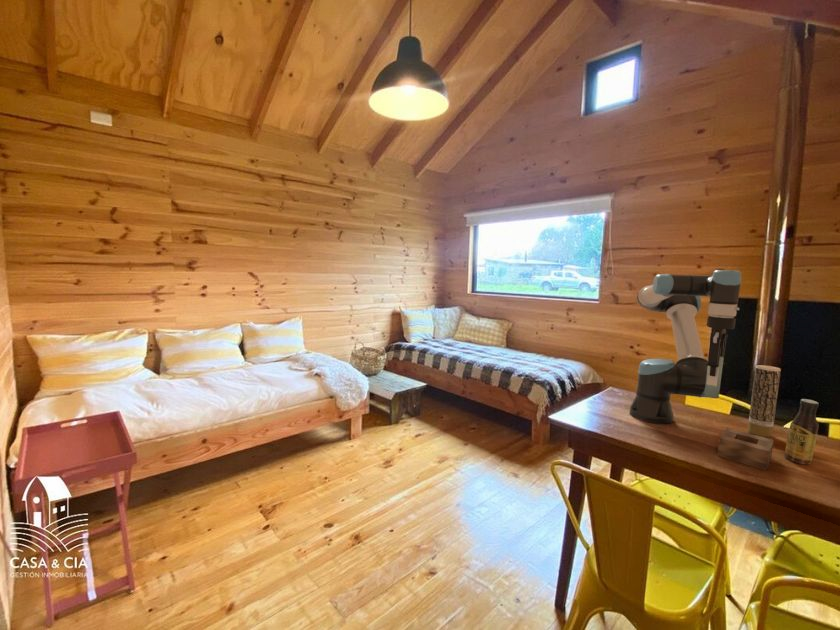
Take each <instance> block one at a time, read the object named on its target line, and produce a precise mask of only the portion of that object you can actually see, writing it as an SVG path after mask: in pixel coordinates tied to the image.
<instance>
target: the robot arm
mask: <svg viewBox="0 0 840 630" xmlns="http://www.w3.org/2000/svg"><path fill="white" fill-rule="evenodd" d="M741 284H742V272H741V271H740V270H737V269H736V270H733V269H732V270H730V269H729V270H726V269H725V270H722V269H716V270H714V271H713V272H712V274H708V275H707V274H704V275H702V274H670V273H663V274H662V273H661V274H656V275H655V276H654V278H653V282H652V284H651V285H646V286H643V287H642V288H641V289H639V290H638V292H637V294H636V300H637V303H638V304H639V305H640V306H641V307H642V308H643V309H645V310H647V311H650V312H656V313H665V316H666V318H667V319H669V320H670V322H671V327H672V333H673V338H674V344H675V349H676V355H677V360H676V361H675V362H674V361H673V360H671V359H664V358H647V359H644V360H641V362H640V363H639V366H638V371H637V375H638V376H637V383H636V395H635V396H634V399H633V401H632V403H631V404H630V407H629V414H630V415H631V416H632V417H633V418H635V419H637V420H641V421H642V422H643V421H644V422H648V423H652V424H660V425H669V424H672V423H673V421H674V417H675V416H674V412H673V409H672V404H671V395H678V396H689V397H696V398H699V399H700V398H709V397H706V396H704V393H705V385H706V376H707V368H708V366H709V369H708V377H707V384H708V385H713V386H717V381H718V373H719V367H718V366H719V359H720V357H723V358H725V354H726V353H725V352H726V345H727V339H728V336H729V335H728V333H727V330H734V329H736V328H735V327H736V323H737V322H736V321H737V319H736V318H735V317H736V316H737V313H738V312H737V311H740V307H738V303H739V298H740V291H741V290H740V289H741ZM702 297H709V302H708V309H707V314H708V316H707V319H706V327H707V328H710V329H711V328H712V329H713V332H711V334H710V338H709V339H710V343H709V351H708V352H709V353H708V358H707V359H706V358H705V356H704V354H703V348H702V344H701V339H700V335H699V331H698V328H697V323H696V319H695V317H696V315H697V314H698V313H700V312H699V311H700V310H701V306H702V302H701V300H702ZM724 361H725V359H723V366H724V365H726V362H724Z"/></svg>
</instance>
